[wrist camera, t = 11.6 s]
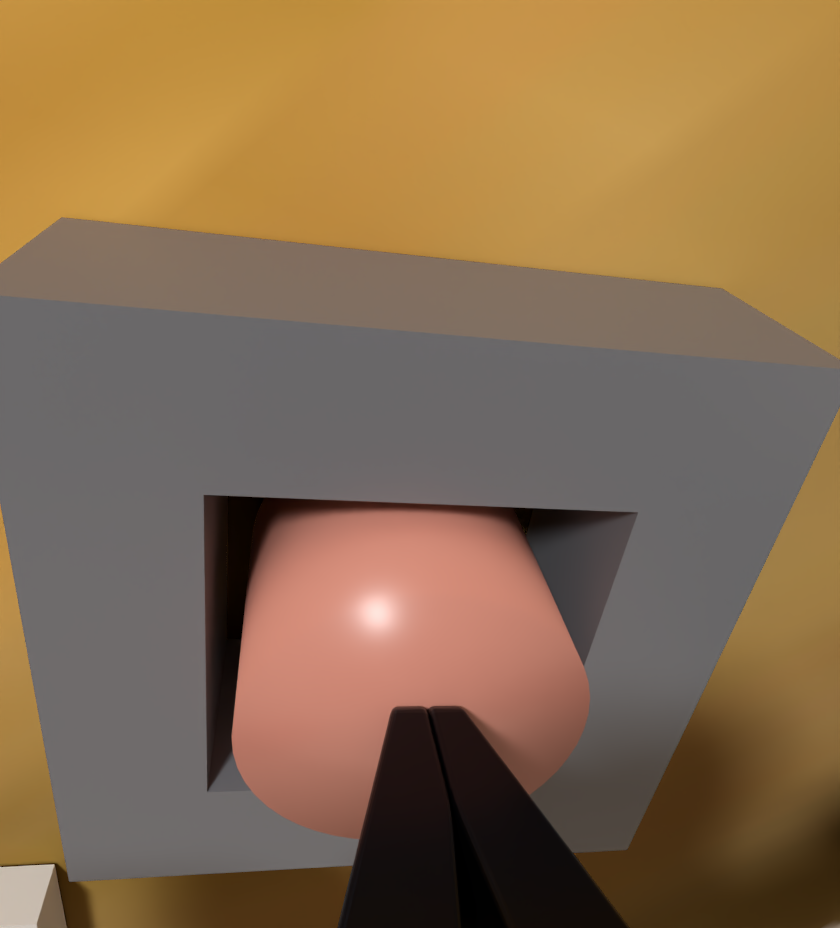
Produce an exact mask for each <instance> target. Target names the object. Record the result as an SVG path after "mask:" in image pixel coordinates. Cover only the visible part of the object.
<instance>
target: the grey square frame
mask: <svg viewBox="0 0 840 928" xmlns="http://www.w3.org/2000/svg"><path fill="white" fill-rule="evenodd" d="M839 407H840V360H839V359H838V358H836V357H834V356H833V355H831V354H829V353H828V352H826V351H824V350H823V349H821V348H819V347H818V346H816V345H814V344H813V343H811V342H810V341H808V340H806V339H805V338H803V337H801V336H800V335H798V334H796V333H795V332H793V331H791V330H790V329H788V328H786V327H785V326H783V325H781V324H780V323H778V322H776V321H775V320H773V319H771V318H770V317H768V316H767V315H765V314H763V313H762V312H760V311H758V310H757V309H755V308H753V307H752V306H750V305H748V304H747V303H745V302H743V301H742V300H740V299H738V298H737V297H735V296H733V295H732V294H730V293H729V292H727V291H725V290H724V289H720V288H711V287H702V286H692V285H683V284H674V283H665V282H655V281H646V280H637V279H628V278H618V277H609V276H600V275H591V274H581V273H572V272H563V271H554V270H544V269H535V268H526V267H517V266H507V265H498V264H489V263H480V262H470V261H461V260H452V259H442V258H433V257H424V256H415V255H405V254H396V253H387V252H378V251H368V250H359V249H350V248H341V247H331V246H322V245H313V244H304V243H294V242H285V241H276V240H267V239H257V238H248V237H239V236H229V235H220V234H211V233H202V232H192V231H183V230H174V229H165V228H155V227H146V226H137V225H128V224H118V223H109V222H100V221H91V220H81V219H72V218H63V217H61V218H60V219H59V220H57V221H56V222H55V223H54V224H52V225H51V226H50V227H48V228H47V229H46V230H44V231H43V232H42V233H40V234H39V235H38V236H36V237H35V238H34V239H32V240H31V241H30V242H28V243H27V244H26V245H24V246H23V247H22V248H20V249H19V250H18V251H16V252H15V253H14V254H12V255H11V256H10V257H8V258H7V259H6V260H4V261H3V262H2V263H0V504H1V510H2V515H3V521H4V526H5V532H6V537H7V543H8V548H9V554H10V559H11V565H12V570H13V576H14V581H15V587H16V592H17V598H18V603H19V609H20V614H21V620H22V625H23V631H24V636H25V642H26V647H27V653H28V658H29V664H30V669H31V675H32V680H33V686H34V691H35V697H36V702H37V708H38V713H39V719H40V724H41V730H42V735H43V741H44V746H45V752H46V757H47V763H48V768H49V774H50V779H51V785H52V790H53V796H54V801H55V807H56V812H57V818H58V823H59V829H60V834H61V840H62V845H63V851H64V856H65V862H66V867H67V873H68V878H69V882H76V881H93V880H110V879H128V878H145V877H163V876H180V875H198V874H215V873H233V872H250V871H267V870H285V869H302V868H320V867H337V866H353V863H354V859H355V855H356V851H357V846H358V842H359V839H352V838H346V837H339V836H334V835H330V834H326V833H322V832H318V831H314V830H312V829H309V828H306V827H304V826H301V825H298V824H296V823H294V822H292V821H290V820H288V819H286V818H284V817H282V816H281V815H279V814H278V813H276V812H275V811H273V810H272V809H270V808H269V807H267V806H266V805H265V804H264V803H263V802H262V801H261V800H260V799H259V798H258V797H256V796H255V795H254V793H253V792H252V791H251V789H250V788H249V787H248V786H247V784H246V783H245V782H244V780H243V778H242V776H241V774H240V772H239V770H238V768H237V765H236V762H235V758H234V755H233V748H232V728H233V718H234V708H235V698H236V689H237V679H238V669H239V659H240V650H241V640H242V639H227V539H228V496H245V497H270V498H295V499H319V500H344V501H369V502H393V503H418V504H443V505H468V506H492V507H517V508H533V511H532V515H531V519H530V523H529V527H528V530H527V534H526V538H527V540H528V542H529V544H530V547H531V549H532V551H533V553H534V556H535V558H536V560H537V562H538V565H539V567H540V569H541V571H542V574H543V576H544V578H545V580H546V583H547V585H548V587H549V589H550V592H551V594H552V596H553V598H554V601H555V603H556V605H557V607H558V610H559V612H560V614H561V616H562V619H563V621H564V623H565V625H566V628H567V630H568V632H569V634H570V637H571V639H572V641H573V643H574V646H575V648H576V650H577V652H578V655H579V657H580V659H581V661H582V664H583V666H584V668H585V672H586V675H587V679H588V682H589V691H590V704H589V714H588V717H587V721H586V724H585V728H584V730H583V733H582V735H581V737H580V739H579V741H578V743H577V745H576V747H575V748H574V750H573V751H572V753H571V754H570V756H569V757H568V759H567V760H566V761H565V762H564V763H563V765H562V766H561V767H560V768H559V769H558V771H557V772H556V773H555V774H554V775H553V776H551V777H550V778H549V779H548V780H547V781H546V782H545V783H544V784H543V785H542V786H540V787H539V788H538V789H536V790H535V791H534V792H533V793H531V794H530V795H529V796H530V797H531V798H532V800H533V801H534V802H535V804H536V805H537V806H538V807H539V809H540V810H541V811H542V813H543V814H544V815H545V817H546V818H547V819H548V821H549V822H550V823H551V825H552V826H553V827H554V829H555V830H556V831H557V833H558V834H559V835H560V837H561V838H562V839H563V840H564V842H565V843H566V844H567V846H568V847H569V848H570V850H571V851H572V852H573V853H582V852H599V851H616V850H627V849H628V847H629V845H630V843H631V841H632V839H633V837H634V834H635V832H636V830H637V828H638V826H639V824H640V822H641V820H642V818H643V816H644V814H645V812H646V809H647V807H648V805H649V803H650V801H651V799H652V797H653V795H654V793H655V791H656V789H657V787H658V784H659V782H660V780H661V778H662V776H663V774H664V772H665V770H666V768H667V766H668V764H669V762H670V759H671V757H672V755H673V753H674V751H675V749H676V747H677V745H678V743H679V741H680V739H681V737H682V734H683V732H684V730H685V728H686V726H687V724H688V722H689V720H690V718H691V716H692V714H693V712H694V709H695V707H696V705H697V703H698V701H699V699H700V697H701V695H702V693H703V691H704V689H705V687H706V684H707V682H708V680H709V678H710V676H711V674H712V672H713V670H714V668H715V666H716V664H717V662H718V659H719V657H720V655H721V653H722V651H723V649H724V647H725V645H726V643H727V641H728V639H729V637H730V634H731V632H732V630H733V628H734V626H735V624H736V622H737V620H738V618H739V616H740V614H741V612H742V609H743V607H744V605H745V603H746V601H747V599H748V597H749V595H750V593H751V591H752V589H753V587H754V584H755V582H756V580H757V578H758V576H759V574H760V572H761V570H762V568H763V566H764V564H765V562H766V559H767V557H768V555H769V553H770V551H771V549H772V547H773V545H774V543H775V541H776V539H777V537H778V534H779V532H780V530H781V528H782V526H783V524H784V522H785V520H786V518H787V516H788V514H789V511H790V509H791V507H792V505H793V503H794V501H795V499H796V497H797V495H798V493H799V491H800V489H801V486H802V484H803V482H804V480H805V478H806V476H807V474H808V472H809V470H810V468H811V466H812V464H813V461H814V459H815V457H816V455H817V453H818V451H819V449H820V447H821V445H822V443H823V441H824V439H825V436H826V434H827V432H828V430H829V428H830V426H831V424H832V422H833V420H834V418H835V416H836V414H837V411H838V409H839Z"/></svg>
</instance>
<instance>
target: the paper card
mask: <svg viewBox="0 0 840 928" xmlns="http://www.w3.org/2000/svg"><path fill="white" fill-rule="evenodd" d="M0 928H67V925H66V920H65V915H64V910H63V905H62V900H61V895H60V889H59V884H58V879H57V874H56V869H55V864H49V865H30V866H11V867H0Z"/></svg>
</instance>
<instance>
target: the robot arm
mask: <svg viewBox="0 0 840 928" xmlns="http://www.w3.org/2000/svg"><path fill="white" fill-rule="evenodd" d="M338 928H629V926H628V925H627V924H626V922H625V921H624V920H623V918H622V917H621V916H620V914H619V913H618V912H617V910H616V909H615V908H614V906H613V905H612V904H611V903H610V901H609V900H608V899H607V897H606V896H605V895H604V893H603V892H602V891H601V889H600V888H599V887H598V885H597V884H596V883H595V881H594V880H593V879H592V877H591V876H590V875H589V873H588V872H587V871H586V870H585V868H584V867H583V866H582V864H581V863H580V862H579V860H578V859H577V858H576V856H575V855H574V854H573V852H572V851H571V850H570V848H569V847H568V846H567V844H566V843H565V842H564V840H563V839H562V838H561V837H560V835H559V834H558V833H557V831H556V830H555V829H554V827H553V826H552V825H551V823H550V822H549V821H548V819H547V818H546V817H545V815H544V814H543V813H542V811H541V810H540V809H539V807H538V806H537V805H536V804H535V802H534V801H533V800H532V798H531V797H530V796H529V794H528V793H527V792H526V790H525V789H524V788H523V786H522V785H521V784H520V782H519V781H518V780H517V778H516V777H515V776H514V774H513V773H512V772H511V771H510V769H509V768H508V767H507V765H506V764H505V763H504V761H503V760H502V759H501V757H500V756H499V755H498V753H497V752H496V751H495V749H494V748H493V747H492V745H491V744H490V743H489V741H488V740H487V739H486V738H485V736H484V735H483V734H482V732H481V731H480V730H479V728H478V727H477V726H476V724H475V723H474V722H473V720H472V719H471V718H470V716H469V715H468V714H467V712H466V711H465V710H464V709H462V708H461V707H459V706H432V707H430V708H428V709H427V711H426V709H425V708H423V707H420V706H416V707H395V708H393V709H392V710H391V713H390V717H389V721H388V725H387V729H386V733H385V737H384V741H383V745H382V749H381V753H380V757H379V761H378V765H377V769H376V774H375V778H374V782H373V786H372V790H371V794H370V798H369V802H368V806H367V810H366V814H365V818H364V822H363V826H362V830H361V834H360V838H359V842H358V846H357V851H356V855H355V859H354V863H353V867H352V871H351V875H350V879H349V883H348V887H347V891H346V895H345V899H344V903H343V907H342V911H341V915H340V919H339V923H338Z"/></svg>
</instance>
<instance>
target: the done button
mask: <svg viewBox="0 0 840 928" xmlns="http://www.w3.org/2000/svg"><path fill="white" fill-rule="evenodd" d="M589 704H590V691H589V682H588V679H587V675H586V672H585V668H584V666H583V664H582V661H581V659H580V657H579V655H578V652H577V650H576V648H575V646H574V643H573V641H572V639H571V637H570V634H569V632H568V630H567V628H566V625H565V623H564V621H563V619H562V616H561V614H560V612H559V610H558V607H557V605H556V603H555V601H554V598H553V596H552V594H551V592H550V589H549V587H548V585H547V583H546V580H545V578H544V576H543V574H542V571H541V569H540V567H539V565H538V562H537V560H536V558H535V556H534V553H533V551H532V549H531V547H530V544H529V542H528V540H527V538H526V535H525V533H524V531H523V529H522V526H521V524H520V522H519V520H518V517H517V515H516V513H515V510H514V508H513V507H492V506H468V505H443V504H418V503H393V502H369V501H344V500H319V499H295V498H270V497H265V498H264V500H263V502H262V504H261V506H260V508H259V511H258V513H257V516H256V519H255V523H254V526H253V534H252V542H251V552H250V562H249V572H248V581H247V591H246V601H245V611H244V620H243V630H242V640H241V650H240V659H239V669H238V679H237V689H236V698H235V708H234V718H233V728H232V748H233V755H234V758H235V762H236V765H237V768H238V770H239V772H240V774H241V776H242V778H243V780H244V782H245V783H246V784H247V786H248V787H249V788H250V789H251V791H252V792H253V793H254V795H255V796H256V797H258V798H259V799H260V800H261V801H262V802H263V803H264V804H265V805H266V806H267V807H269V808H270V809H272V810H273V811H275V812H276V813H278V814H279V815H281V816H282V817H284V818H286V819H288V820H290V821H292V822H294V823H296V824H298V825H301V826H304V827H306V828H309V829H312V830H314V831H318V832H322V833H326V834H330V835H334V836H339V837H346V838H352V839H359V838H360V834H361V830H362V826H363V822H364V818H365V814H366V810H367V806H368V802H369V798H370V794H371V790H372V786H373V782H374V778H375V774H376V769H377V765H378V761H379V757H380V753H381V749H382V745H383V741H384V737H385V733H386V729H387V725H388V721H389V717H390V713H391V710H392V709H393V708H395V707H416V706H420V707H423V708H425V709H426V711H427V709H428V708H430V707H432V706H459V707H461V708H462V709H464V710H465V711H466V712H467V714H468V715H469V716H470V718H471V719H472V720H473V722H474V723H475V724H476V726H477V727H478V728H479V730H480V731H481V732H482V734H483V735H484V736H485V738H486V739H487V740H488V741H489V743H490V744H491V745H492V747H493V748H494V749H495V751H496V752H497V753H498V755H499V756H500V757H501V759H502V760H503V761H504V763H505V764H506V765H507V767H508V768H509V769H510V771H511V772H512V773H513V774H514V776H515V777H516V778H517V780H518V781H519V782H520V784H521V785H522V786H523V788H524V789H525V790H526V792H527V793H528V794H529V795H530V794H531V793H533V792H534V791H535V790H536V789H538V788H539V787H540V786H542V785H543V784H544V783H545V782H546V781H547V780H548V779H549V778H550V777H551V776H553V775H554V774H555V773H556V772H557V771H558V769H559V768H560V767H561V766H562V765H563V763H564V762H565V761H566V760H567V759H568V757H569V756H570V754H571V753H572V751H573V750H574V748H575V747H576V745H577V743H578V741H579V739H580V737H581V735H582V733H583V730H584V728H585V724H586V721H587V717H588V714H589Z"/></svg>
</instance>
